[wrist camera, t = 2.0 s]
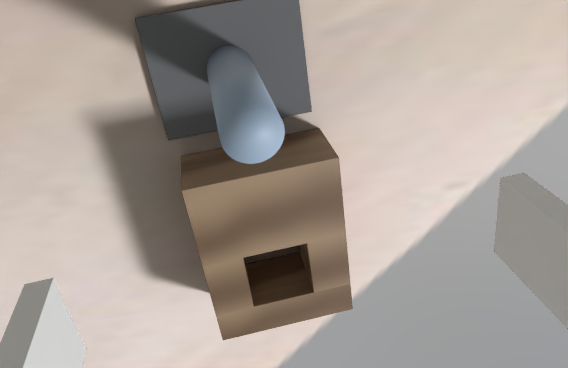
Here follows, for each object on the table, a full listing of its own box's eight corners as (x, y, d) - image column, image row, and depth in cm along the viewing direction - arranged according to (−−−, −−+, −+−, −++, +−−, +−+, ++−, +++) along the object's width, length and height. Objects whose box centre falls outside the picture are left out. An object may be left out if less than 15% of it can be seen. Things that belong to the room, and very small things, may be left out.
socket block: (180, 156, 35) (181, 190, 31) (319, 128, 36) (338, 157, 32) (218, 295, 41) (222, 340, 37) (334, 268, 42) (352, 308, 38)
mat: (135, 18, 30) (134, 19, 30) (296, -11, 31) (297, -10, 31) (168, 138, 34) (168, 140, 34) (310, 109, 35) (311, 111, 35)
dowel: (224, 35, 31) (245, 89, 22) (262, 63, 32) (297, 125, 23) (197, 74, 32) (206, 142, 22) (235, 100, 33) (258, 174, 24)
